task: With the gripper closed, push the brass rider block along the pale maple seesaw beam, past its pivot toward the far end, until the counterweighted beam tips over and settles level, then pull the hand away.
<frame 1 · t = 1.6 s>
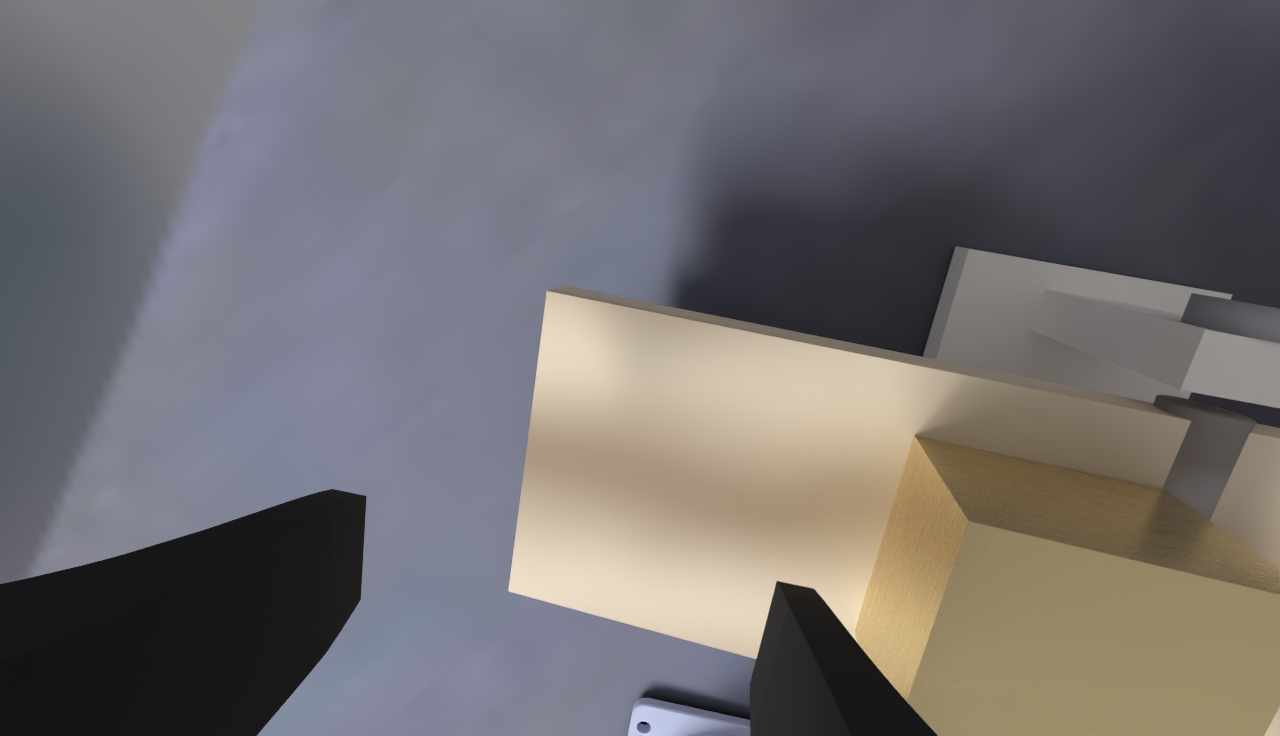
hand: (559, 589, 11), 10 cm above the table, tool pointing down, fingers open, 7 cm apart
beam: (1103, 558, 15), point 5 cm above the table, hinge at -5.1°, touching rider
rider: (999, 565, 14), point 6 cm above the table, tilted 6°, touching beam
stand: (1006, 473, 20), on the table
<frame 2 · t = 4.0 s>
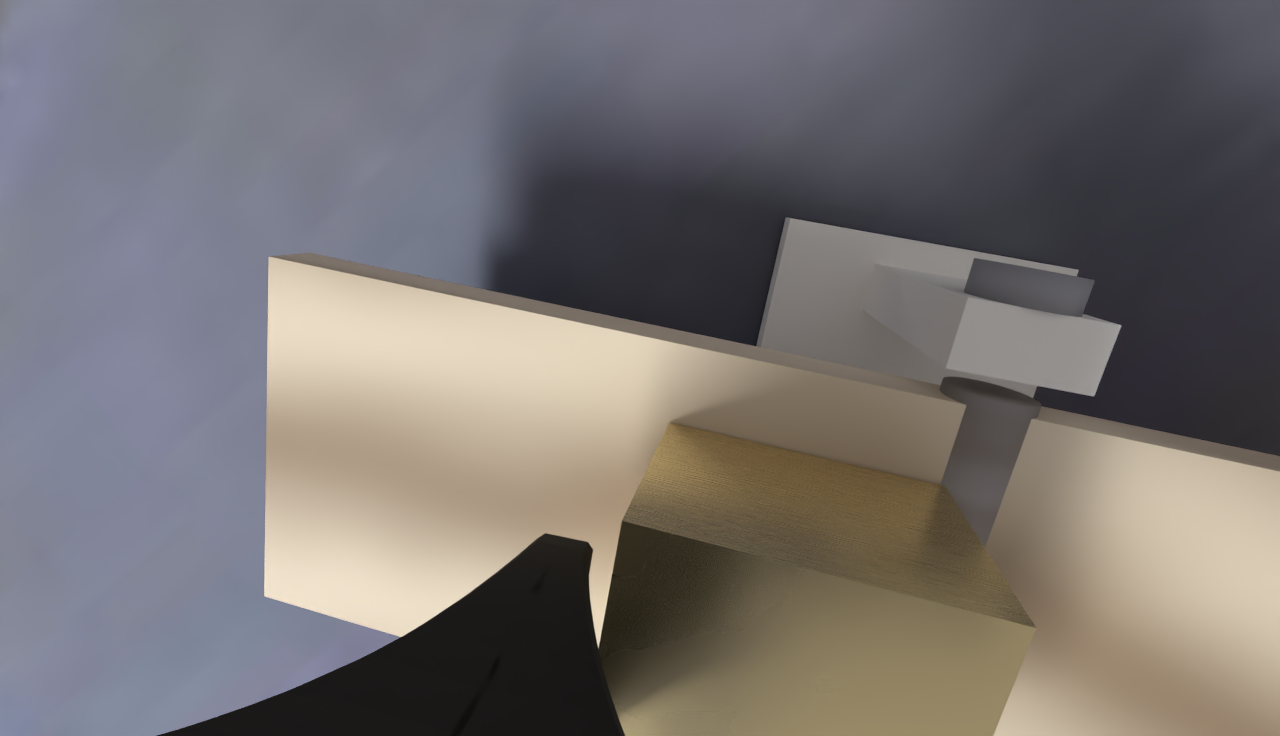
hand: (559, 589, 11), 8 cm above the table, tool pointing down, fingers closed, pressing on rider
beam: (910, 563, 13), point 5 cm above the table, hinge at -5.1°, touching rider
rider: (772, 571, 12), point 6 cm above the table, tilted 5°, touching beam, gripper
stand: (854, 468, 18), on the table
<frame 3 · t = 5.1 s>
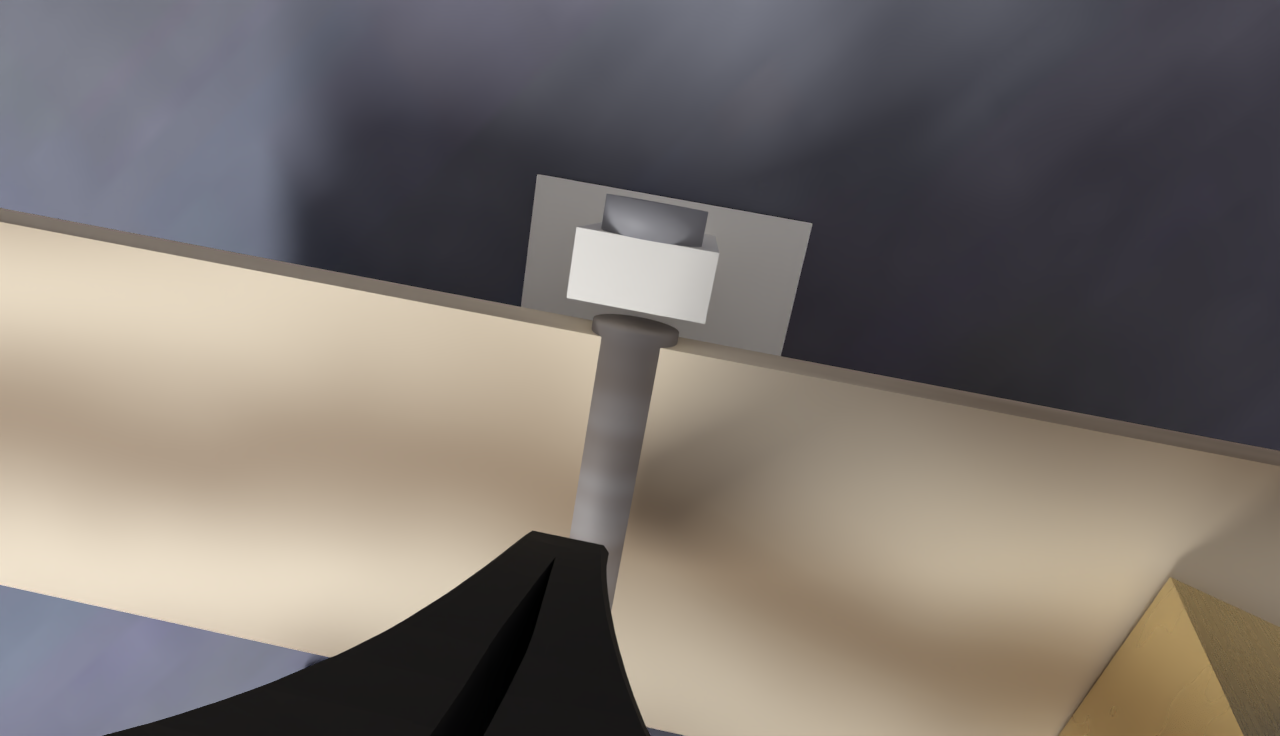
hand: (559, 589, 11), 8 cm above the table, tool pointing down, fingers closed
beam: (608, 501, 14), point 5 cm above the table, hinge at 0.4°
stand: (634, 425, 19), on the table
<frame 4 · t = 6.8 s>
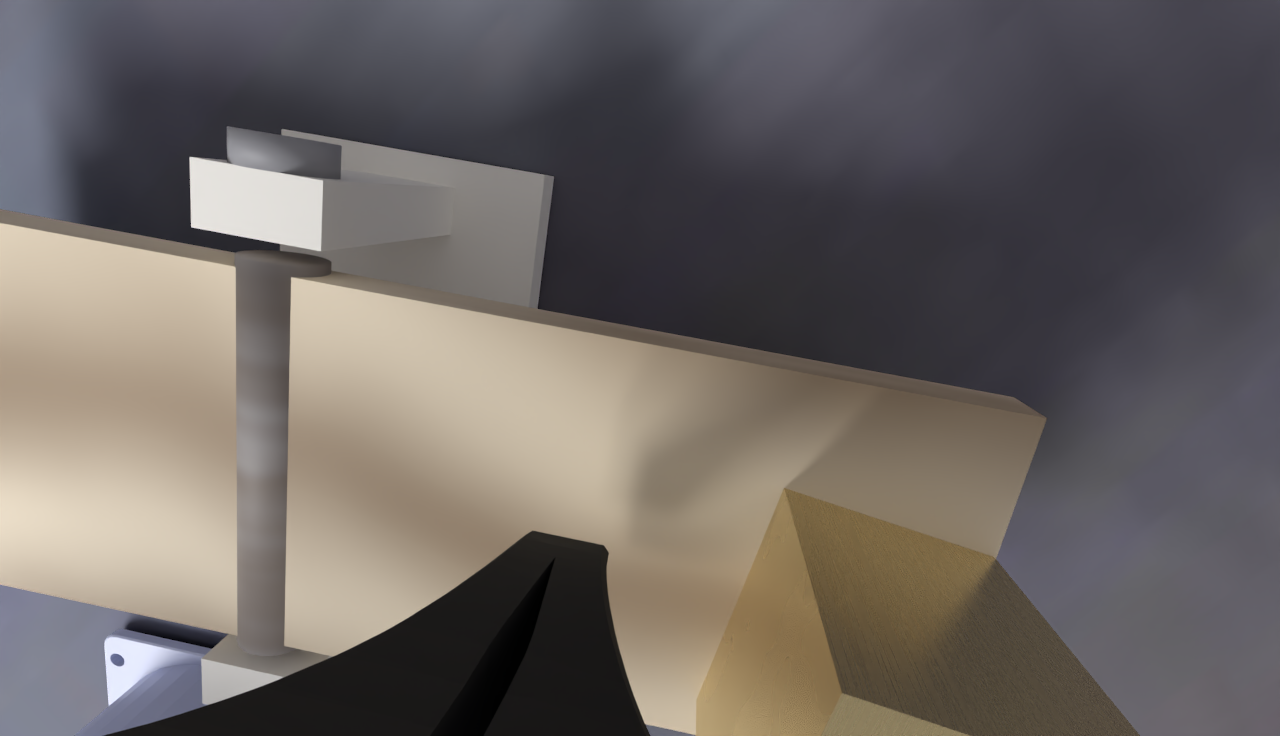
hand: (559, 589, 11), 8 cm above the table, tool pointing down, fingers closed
beam: (312, 440, 14), point 5 cm above the table, hinge at 0.4°, touching rider
rider: (746, 697, 10), point 9 cm above the table, tilted 90°, touching beam
stand: (411, 381, 19), on the table
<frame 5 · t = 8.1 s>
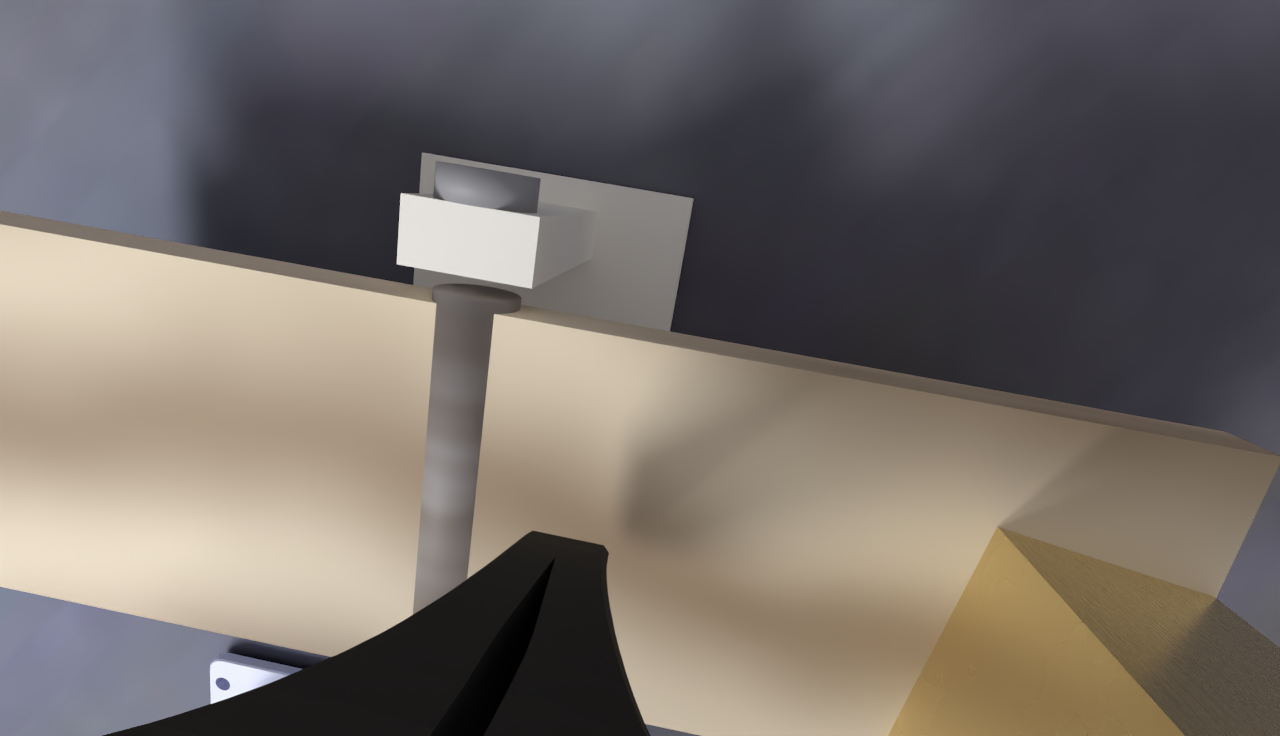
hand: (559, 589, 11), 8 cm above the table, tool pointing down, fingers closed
beam: (477, 473, 14), point 5 cm above the table, hinge at 0.4°, touching rider
stand: (536, 404, 19), on the table
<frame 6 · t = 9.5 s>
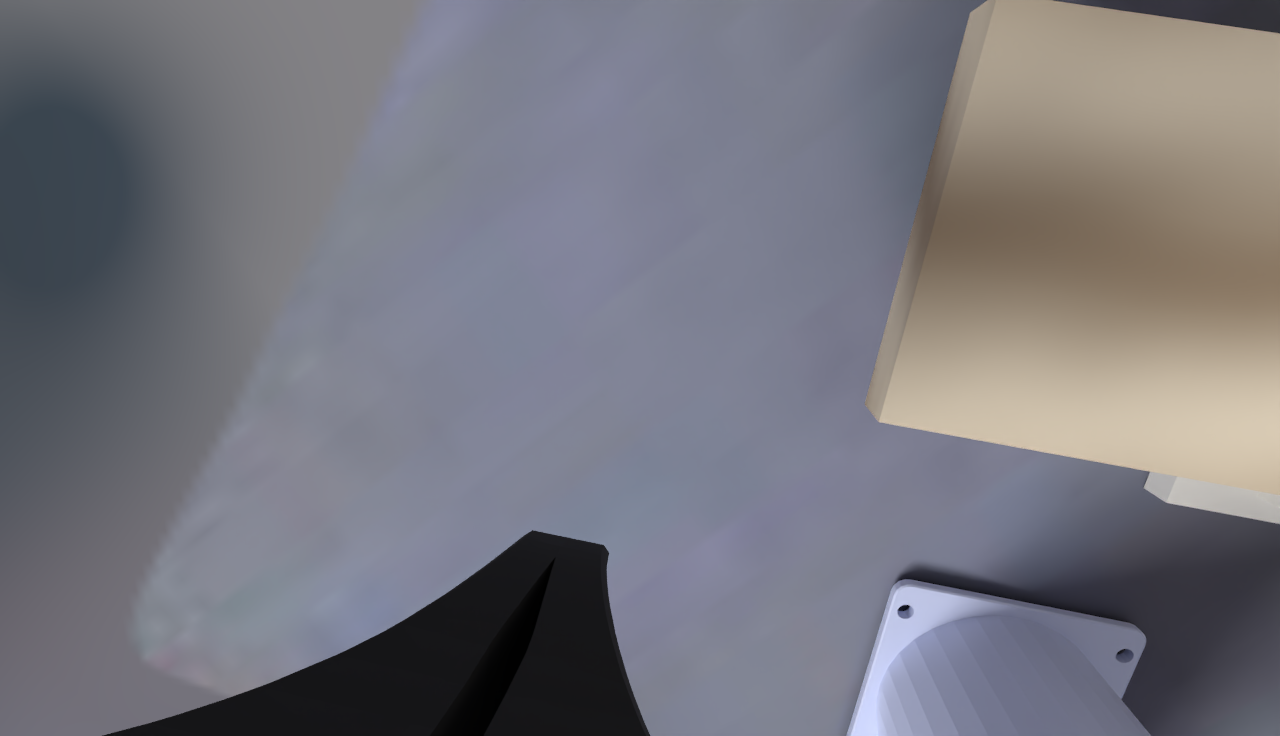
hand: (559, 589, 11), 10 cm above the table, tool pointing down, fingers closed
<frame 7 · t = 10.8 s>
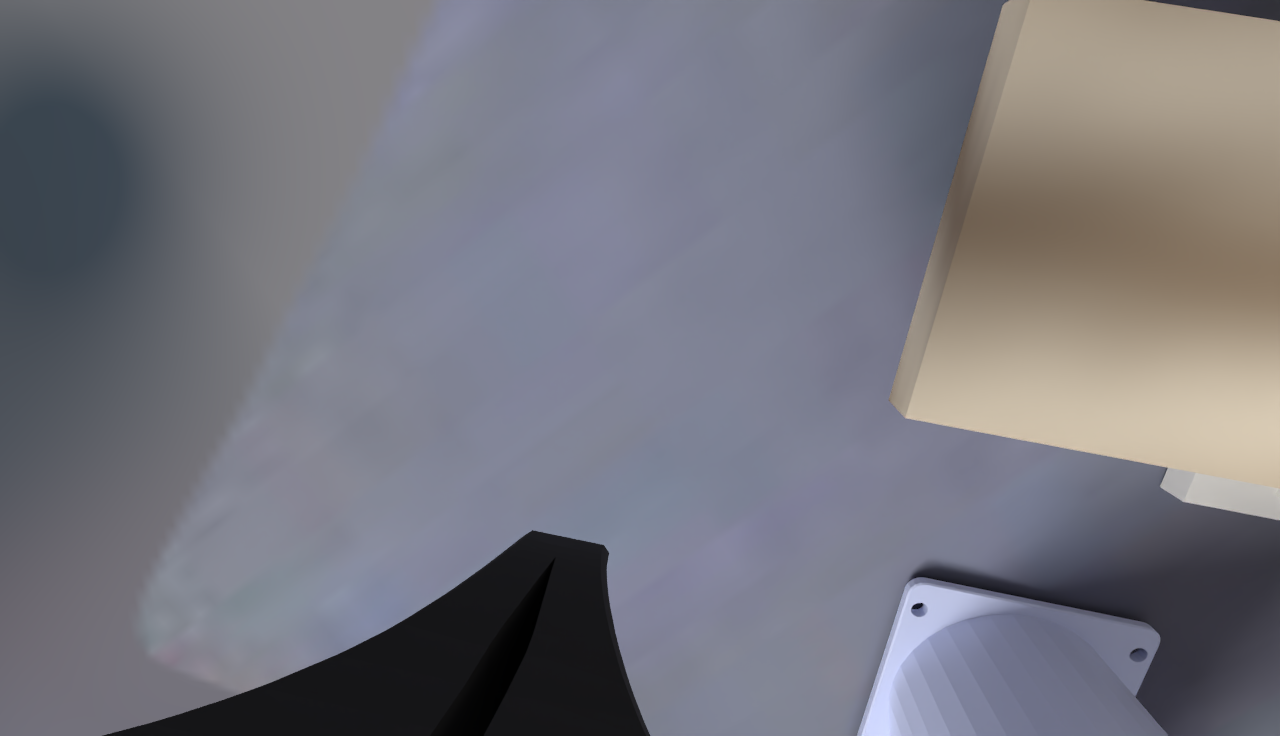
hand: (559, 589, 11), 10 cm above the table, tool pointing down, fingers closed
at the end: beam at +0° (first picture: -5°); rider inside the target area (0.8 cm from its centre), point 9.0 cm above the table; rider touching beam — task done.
